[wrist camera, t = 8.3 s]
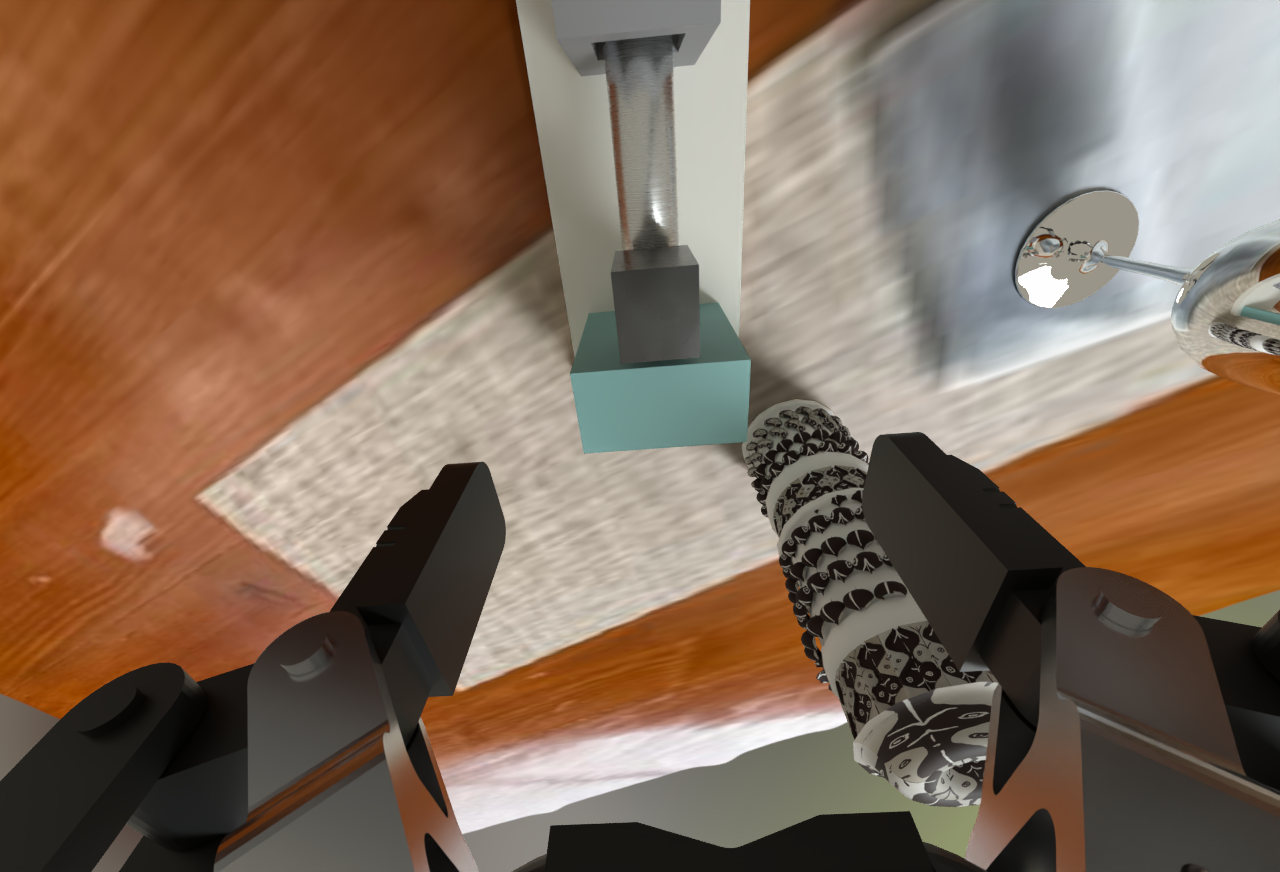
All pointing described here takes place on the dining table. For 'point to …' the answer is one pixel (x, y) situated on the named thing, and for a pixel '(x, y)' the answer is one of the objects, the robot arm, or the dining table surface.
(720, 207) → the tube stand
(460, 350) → the dining table surface
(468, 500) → the robot arm
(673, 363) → the socket
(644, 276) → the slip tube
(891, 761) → the decorative candle
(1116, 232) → the wineglass
